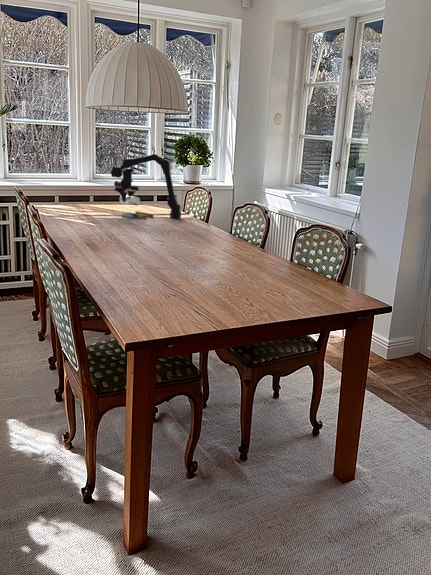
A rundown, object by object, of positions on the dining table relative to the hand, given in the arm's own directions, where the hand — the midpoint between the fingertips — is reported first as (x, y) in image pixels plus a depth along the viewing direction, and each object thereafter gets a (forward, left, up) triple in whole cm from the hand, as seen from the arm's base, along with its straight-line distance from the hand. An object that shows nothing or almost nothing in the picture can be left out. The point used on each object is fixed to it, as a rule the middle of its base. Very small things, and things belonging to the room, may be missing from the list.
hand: (126, 201), depth 355 cm
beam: (-8, 0, -9) cm, 12 cm away
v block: (-8, +7, -9) cm, 14 cm away
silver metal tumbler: (-3, 0, -2) cm, 3 cm away
